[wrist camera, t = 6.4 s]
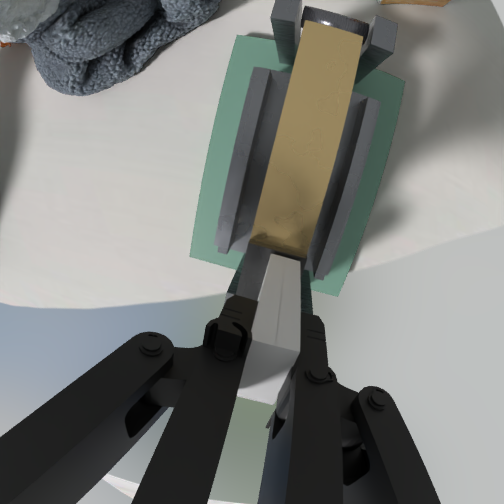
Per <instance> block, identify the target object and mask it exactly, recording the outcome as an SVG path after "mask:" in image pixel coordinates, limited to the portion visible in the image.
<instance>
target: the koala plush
mask: <svg viewBox="0 0 504 504" xmlns="http://www.w3.org/2000/svg"><path fill="white" fill-rule="evenodd" d="M218 2H221V0H0V41H2V42H3V43H6V42H8V43H20V42H21V43H26V44H28V45H29V46H30V47H31V48H32V50H31V52H32V55H33V58H34V62H35V64H36V67H37V70H38V71H39V73H40V74H41V77H42V78H43V79H44V80H45V83H46V84H47V85H48V86H49V87H50V88H52V89H55V90H56V91H58V92H61V93H63V94H68V95H76V96H86V95H91V94H94V93H98V92H100V91H103V90H104V89H108V88H110V87H111V86H114V84H116V83H120V82H123V81H125V80H127V79H129V78H130V76H133V75H134V74H135V73H138V72H139V71H140V68H143V63H145V62H146V61H147V60H148V59H149V58H150V57H152V55H153V54H154V53H155V50H157V48H159V47H161V46H163V45H165V44H167V43H168V42H171V41H172V40H175V39H176V38H177V37H181V35H185V33H187V32H189V31H190V30H193V29H194V28H195V27H198V26H199V25H201V23H204V22H206V21H207V20H208V19H209V17H211V16H212V15H213V14H214V12H216V10H217V9H218V8H219V5H218Z"/></svg>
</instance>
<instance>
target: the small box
mask: <svg viewBox="0 0 504 504" xmlns="http://www.w3.org/2000/svg"><path fill="white" fill-rule="evenodd" d="M377 1H378V3H379V4H394V3H398V4H419V5H430V6H438V7H443V6H444V5H446V4H447V3H448V2H449V1H451V0H377Z"/></svg>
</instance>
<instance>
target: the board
mask: <svg viewBox="0 0 504 504" xmlns="http://www.w3.org/2000/svg"><path fill="white" fill-rule="evenodd" d="M254 66H255V67H262V68H267V69H271V70H276V71H281V72H285V73H290V74H292V70H293V66H291V65H287V64H282V63H279V58H278V53H277V47H276V42H275V40H270V39H264V38H257V37H250V36H242V35H237V37H236V40H235V44H234V47H233V51H232V54H231V58H230V61H229V65H228V69H227V73H226V76H225V80H224V84H223V88H222V92H221V96H220V100H219V104H218V108H217V113H216V117H215V121H214V126H213V130H212V135H211V139H210V144H209V149H208V154H207V159H206V163H205V169H204V174H203V179H202V184H201V190H200V195H199V201H198V206H197V212H196V218H195V224H194V230H193V237H192V243H191V250H190V257H192V258H196V259H199V260H203V261H206V262H210V263H213V264H217V265H221V266H224V267H228V268H231V269H235V270H237V268H238V266H239V263H240V261H241V259H242V257H243V254H244V253H242V252H238V251H234V250H231V249H230V250H229V252H228V254H227V255H226V254H223V253H219V252H217V251H218V246H216V245H214V240H215V235H216V230H217V224H218V219H219V214H220V209H221V204H222V200H223V195H224V190H225V185H226V180H227V176H228V171H229V167H230V162H231V158H232V153H233V149H234V144H235V140H236V136H237V131H238V127H239V123H240V119H241V114H242V110H243V106H244V102H245V98H246V94H247V90H248V86H249V82H250V78H251V75H252V71H253V67H254ZM404 84H405V81H403V80H401V79H399V78H397V77H394V76H392V75H390V74H387V73H385V72H382V71H380V70H377V69H374V70H373V71H371V72H370V73H369V74H368V75H367V76H366V77H364V78H363V79H362V80H361V81H360V82H359V83H358V84H354V85H353V90H352V91H353V92H356V93H359V94H361V95H364V96H367V97H370V98H373V99H375V100H378V101H380V102H381V105H380V109H379V114H378V118H377V122H376V126H375V130H374V134H373V138H372V142H371V145H370V149H369V153H368V156H367V160H366V163H365V167H364V170H363V174H362V177H361V181H360V184H359V187H358V190H357V194H356V197H355V200H354V203H353V206H352V209H351V212H350V215H349V218H348V221H347V224H346V227H345V230H344V233H343V236H342V239H341V242H340V244H339V247H338V250H337V253H336V256H335V258H334V261H333V264H332V266H331V269H330V272H329V274H328V276H327V275H325V277H324V280H319V279H315V278H314V274H313V272H312V271H309V274H310V285H311V290H314V291H318V292H322V293H325V294H329V295H333V296H338V295H339V293H340V291H341V288H342V286H343V284H344V281H345V279H346V276H347V274H348V271H349V269H350V267H351V264H352V261H353V259H354V256H355V254H356V251H357V248H358V246H359V243H360V240H361V238H362V235H363V232H364V229H365V227H366V224H367V221H368V218H369V215H370V212H371V209H372V206H373V203H374V200H375V197H376V194H377V191H378V188H379V184H380V181H381V178H382V174H383V171H384V168H385V164H386V161H387V157H388V153H389V150H390V146H391V142H392V138H393V134H394V130H395V126H396V122H397V118H398V113H399V109H400V104H401V99H402V95H403V90H404Z"/></svg>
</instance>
